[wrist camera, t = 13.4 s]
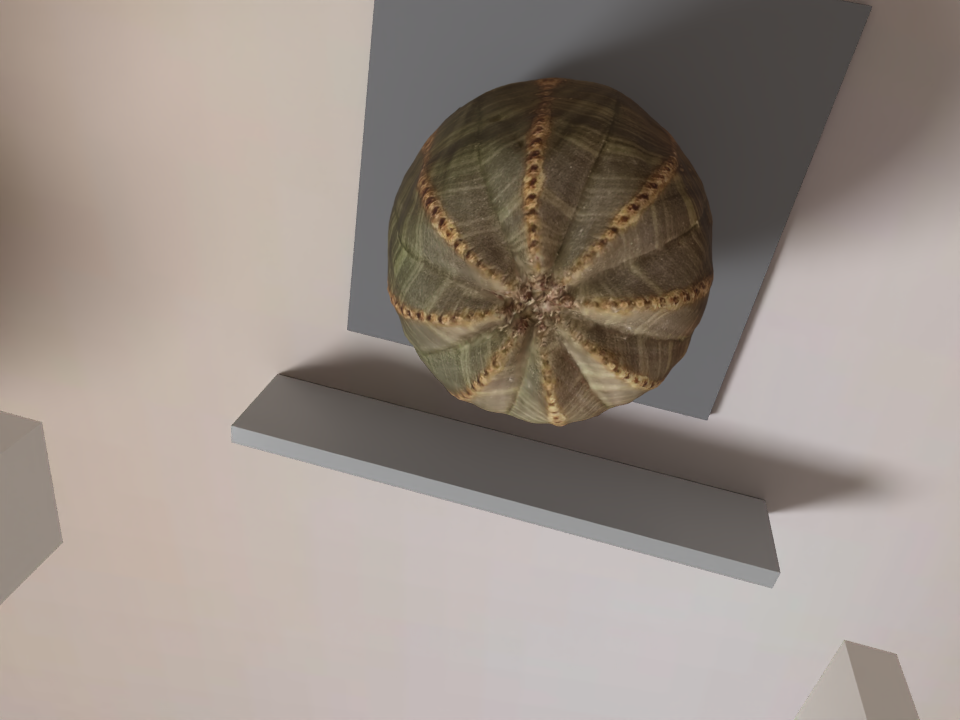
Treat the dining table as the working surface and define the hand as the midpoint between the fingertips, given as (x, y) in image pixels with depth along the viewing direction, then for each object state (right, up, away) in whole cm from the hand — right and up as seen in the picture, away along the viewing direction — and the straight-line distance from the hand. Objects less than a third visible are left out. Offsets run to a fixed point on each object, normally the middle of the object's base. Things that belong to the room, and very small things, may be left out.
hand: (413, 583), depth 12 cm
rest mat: (+5, +11, +19) cm, 23 cm away
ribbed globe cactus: (+5, +11, +19) cm, 22 cm away
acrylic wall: (+3, -1, +26) cm, 26 cm away
